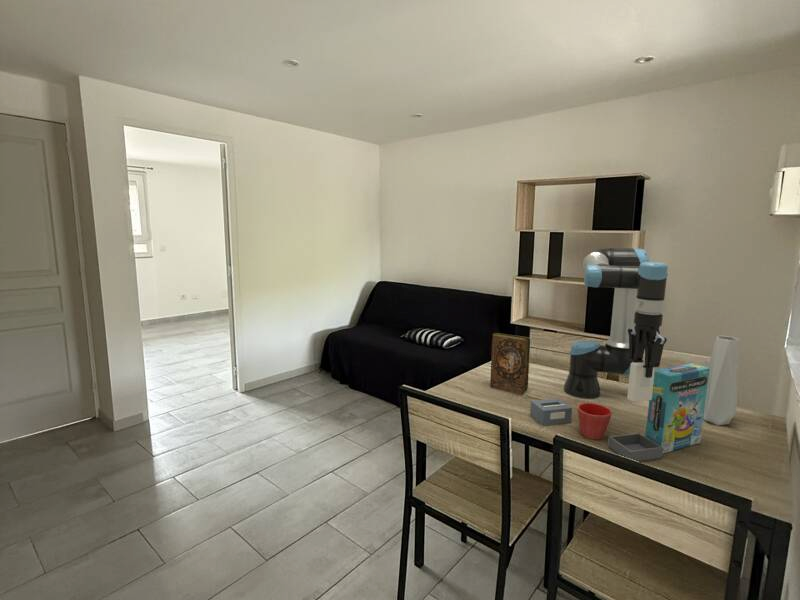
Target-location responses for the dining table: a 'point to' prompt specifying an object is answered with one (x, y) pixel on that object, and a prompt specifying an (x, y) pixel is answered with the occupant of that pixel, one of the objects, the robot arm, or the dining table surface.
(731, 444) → the dining table surface
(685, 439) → the game box
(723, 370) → the vase
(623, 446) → the bin
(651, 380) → the white rectangular block
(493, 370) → the book
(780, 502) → the dining table surface
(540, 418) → the dispenser
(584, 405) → the flower pot
